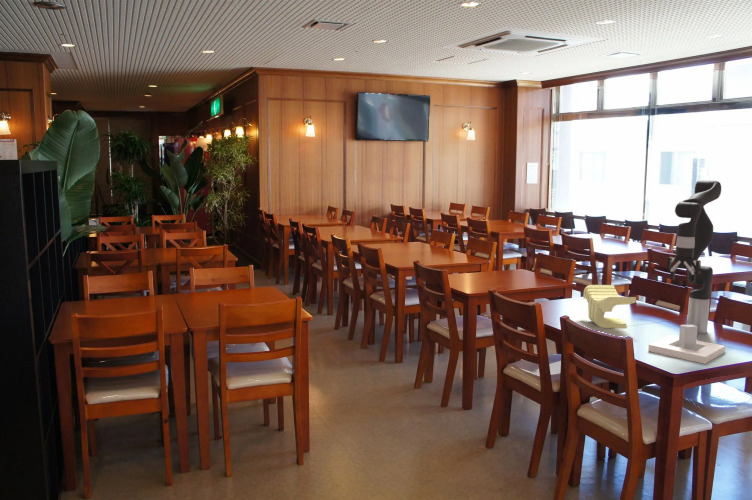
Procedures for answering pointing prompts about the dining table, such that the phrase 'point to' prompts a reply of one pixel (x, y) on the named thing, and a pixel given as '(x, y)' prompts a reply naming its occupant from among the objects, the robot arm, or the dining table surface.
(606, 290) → the slatted curved stool
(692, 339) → the skincare box
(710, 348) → the white square frame
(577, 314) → the dining table surface
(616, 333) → the dining table surface
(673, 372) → the dining table surface
